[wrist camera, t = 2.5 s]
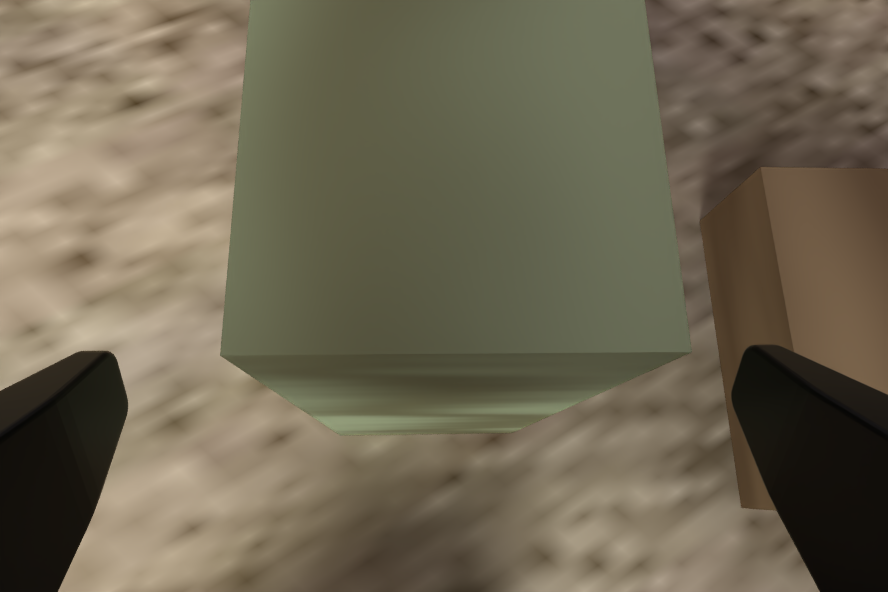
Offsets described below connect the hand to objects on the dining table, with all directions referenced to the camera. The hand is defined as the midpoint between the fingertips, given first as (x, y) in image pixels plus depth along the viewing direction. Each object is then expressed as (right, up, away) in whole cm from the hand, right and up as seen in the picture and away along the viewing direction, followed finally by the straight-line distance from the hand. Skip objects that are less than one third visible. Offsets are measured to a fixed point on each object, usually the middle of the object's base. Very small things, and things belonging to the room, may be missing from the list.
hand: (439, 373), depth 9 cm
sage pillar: (0, -1, +10) cm, 10 cm away
